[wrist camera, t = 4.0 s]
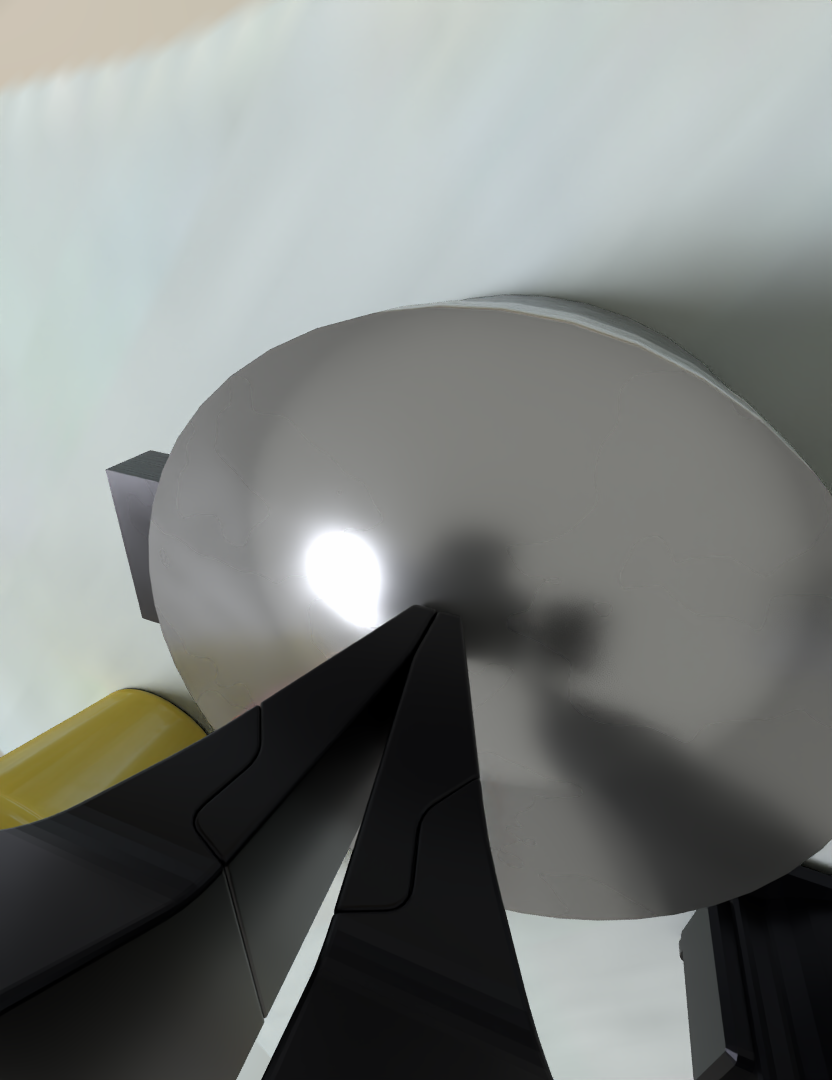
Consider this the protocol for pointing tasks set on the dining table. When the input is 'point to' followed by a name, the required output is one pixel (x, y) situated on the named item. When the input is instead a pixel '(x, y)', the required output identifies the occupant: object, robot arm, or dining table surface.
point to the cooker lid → (530, 584)
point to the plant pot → (90, 754)
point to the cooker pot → (142, 473)
